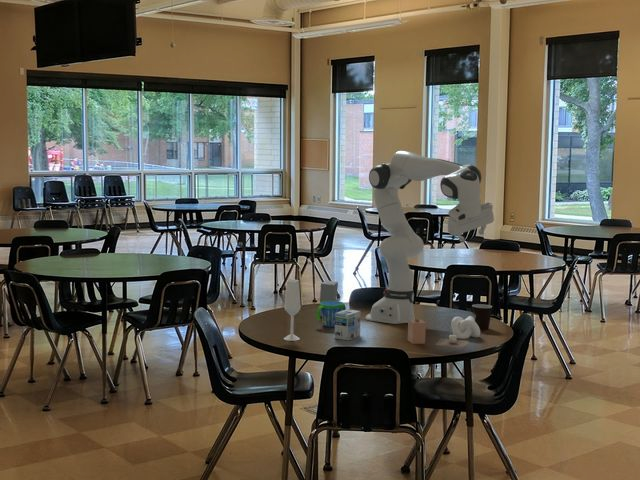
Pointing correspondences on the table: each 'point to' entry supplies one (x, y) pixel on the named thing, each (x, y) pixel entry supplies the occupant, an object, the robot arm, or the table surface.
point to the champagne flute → (292, 304)
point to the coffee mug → (482, 315)
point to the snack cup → (329, 312)
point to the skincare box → (328, 291)
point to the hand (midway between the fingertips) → (471, 237)
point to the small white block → (453, 339)
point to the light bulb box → (347, 324)
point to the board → (446, 343)
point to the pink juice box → (416, 331)
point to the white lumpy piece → (465, 327)
